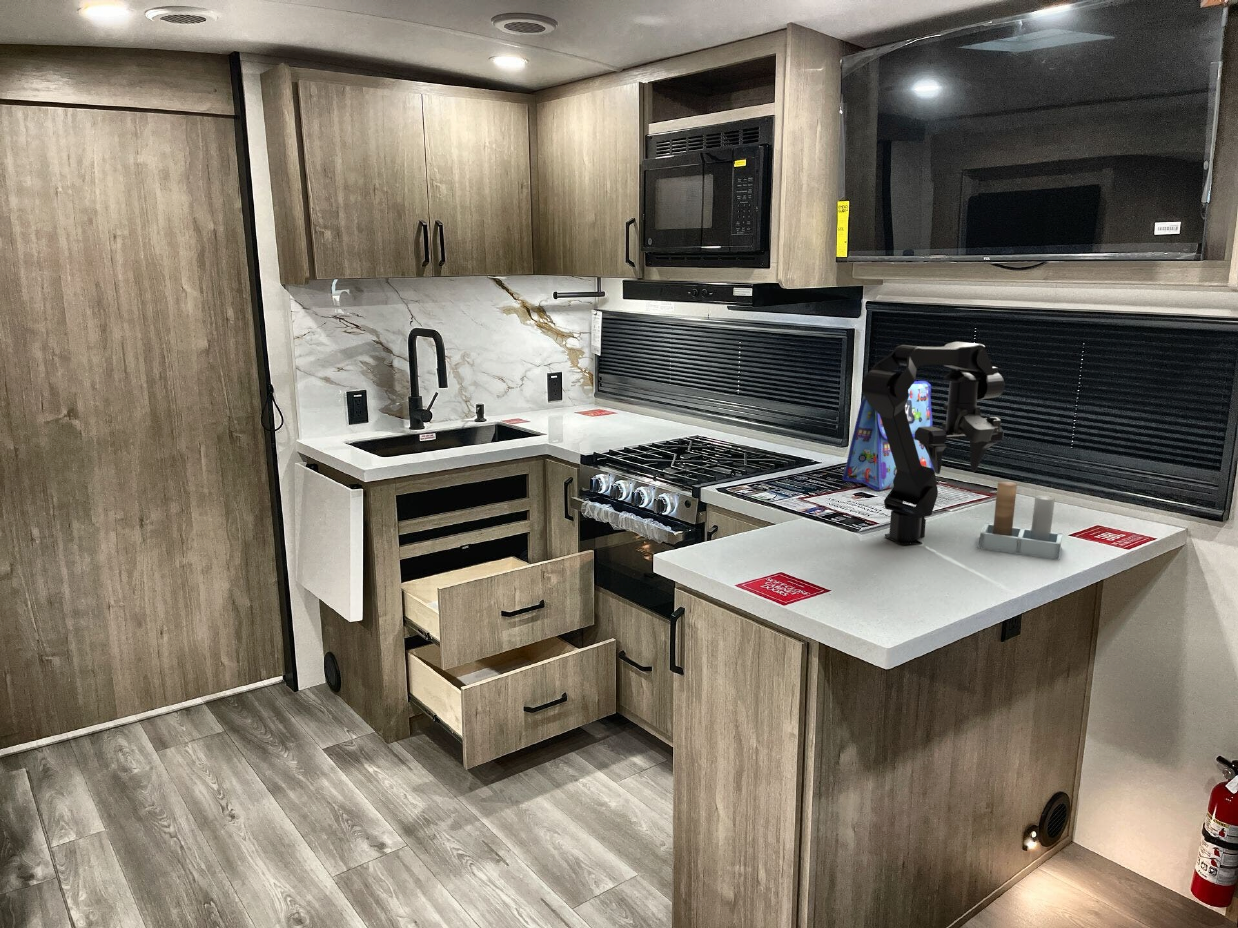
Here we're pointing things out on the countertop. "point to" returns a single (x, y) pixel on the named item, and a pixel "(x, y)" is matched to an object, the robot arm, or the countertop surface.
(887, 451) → the lunch bag
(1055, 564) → the countertop surface
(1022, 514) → the countertop surface
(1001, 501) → the walnut peg
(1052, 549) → the slot rack
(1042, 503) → the grey peg
